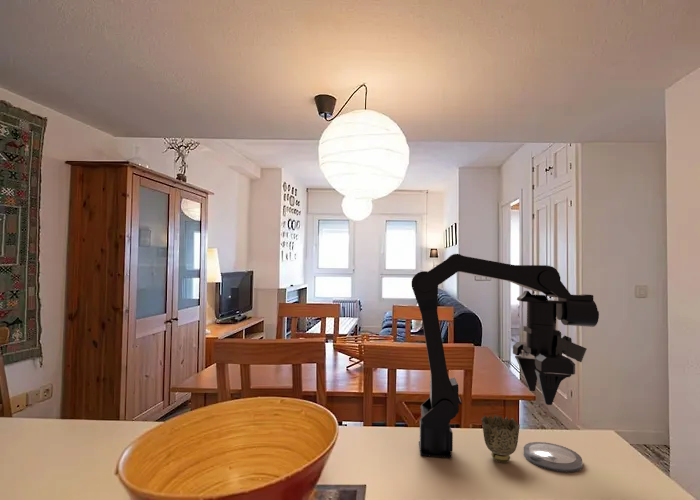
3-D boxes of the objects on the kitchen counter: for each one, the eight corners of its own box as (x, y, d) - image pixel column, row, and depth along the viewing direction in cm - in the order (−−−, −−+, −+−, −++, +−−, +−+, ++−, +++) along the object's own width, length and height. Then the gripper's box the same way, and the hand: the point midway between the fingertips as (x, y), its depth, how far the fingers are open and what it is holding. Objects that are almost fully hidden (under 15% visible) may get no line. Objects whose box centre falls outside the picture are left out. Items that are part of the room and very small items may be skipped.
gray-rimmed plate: (534, 470, 76) (534, 463, 76) (516, 445, 87) (516, 440, 87) (593, 474, 74) (592, 467, 74) (567, 449, 85) (567, 443, 85)
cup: (523, 470, 75) (523, 429, 76) (485, 466, 77) (484, 425, 77) (515, 453, 83) (514, 416, 83) (480, 450, 84) (479, 413, 85)
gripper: (604, 332, 72) (604, 417, 71) (561, 320, 90) (560, 387, 89) (543, 328, 73) (541, 411, 72) (512, 318, 92) (511, 383, 91)
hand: (540, 397), depth 81 cm, fingers open, 9 cm apart
